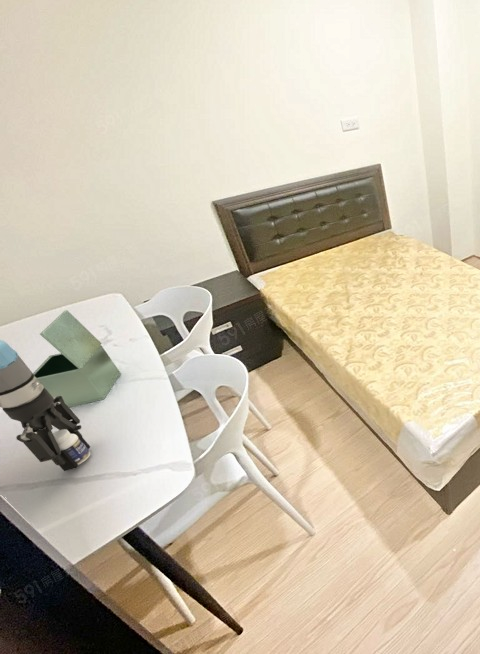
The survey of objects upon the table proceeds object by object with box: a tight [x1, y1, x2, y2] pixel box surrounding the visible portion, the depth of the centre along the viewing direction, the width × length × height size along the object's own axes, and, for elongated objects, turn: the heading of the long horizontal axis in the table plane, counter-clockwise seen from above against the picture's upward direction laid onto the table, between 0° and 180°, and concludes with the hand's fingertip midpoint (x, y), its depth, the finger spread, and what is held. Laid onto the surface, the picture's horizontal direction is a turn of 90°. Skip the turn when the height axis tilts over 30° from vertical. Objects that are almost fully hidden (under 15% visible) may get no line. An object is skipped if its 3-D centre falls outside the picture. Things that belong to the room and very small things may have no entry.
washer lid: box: [39, 309, 102, 369], centre depth 122 cm, size 14×13×1 cm
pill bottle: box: [52, 429, 91, 465], centre depth 104 cm, size 5×5×10 cm
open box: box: [32, 344, 122, 408], centre depth 127 cm, size 14×13×13 cm
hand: (77, 458), depth 107 cm, fingers closed on pill bottle, 5 cm apart
